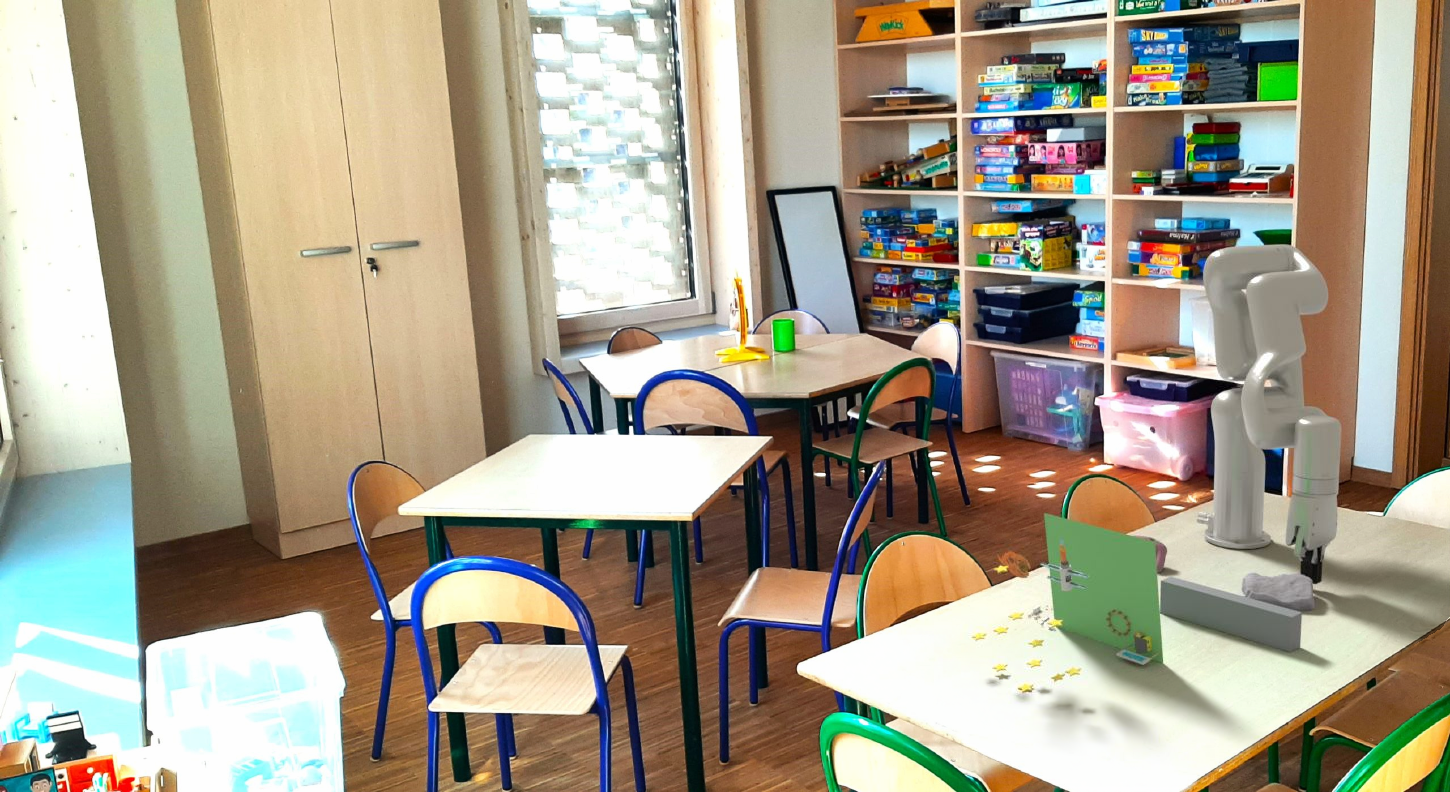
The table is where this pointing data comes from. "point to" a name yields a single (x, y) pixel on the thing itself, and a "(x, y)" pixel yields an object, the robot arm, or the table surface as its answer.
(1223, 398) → the robot arm
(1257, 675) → the table surface
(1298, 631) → the board
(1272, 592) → the stone block
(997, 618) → the table surface
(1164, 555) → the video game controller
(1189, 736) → the table surface
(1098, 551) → the toy game set
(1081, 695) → the table surface
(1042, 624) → the miniature furniture
